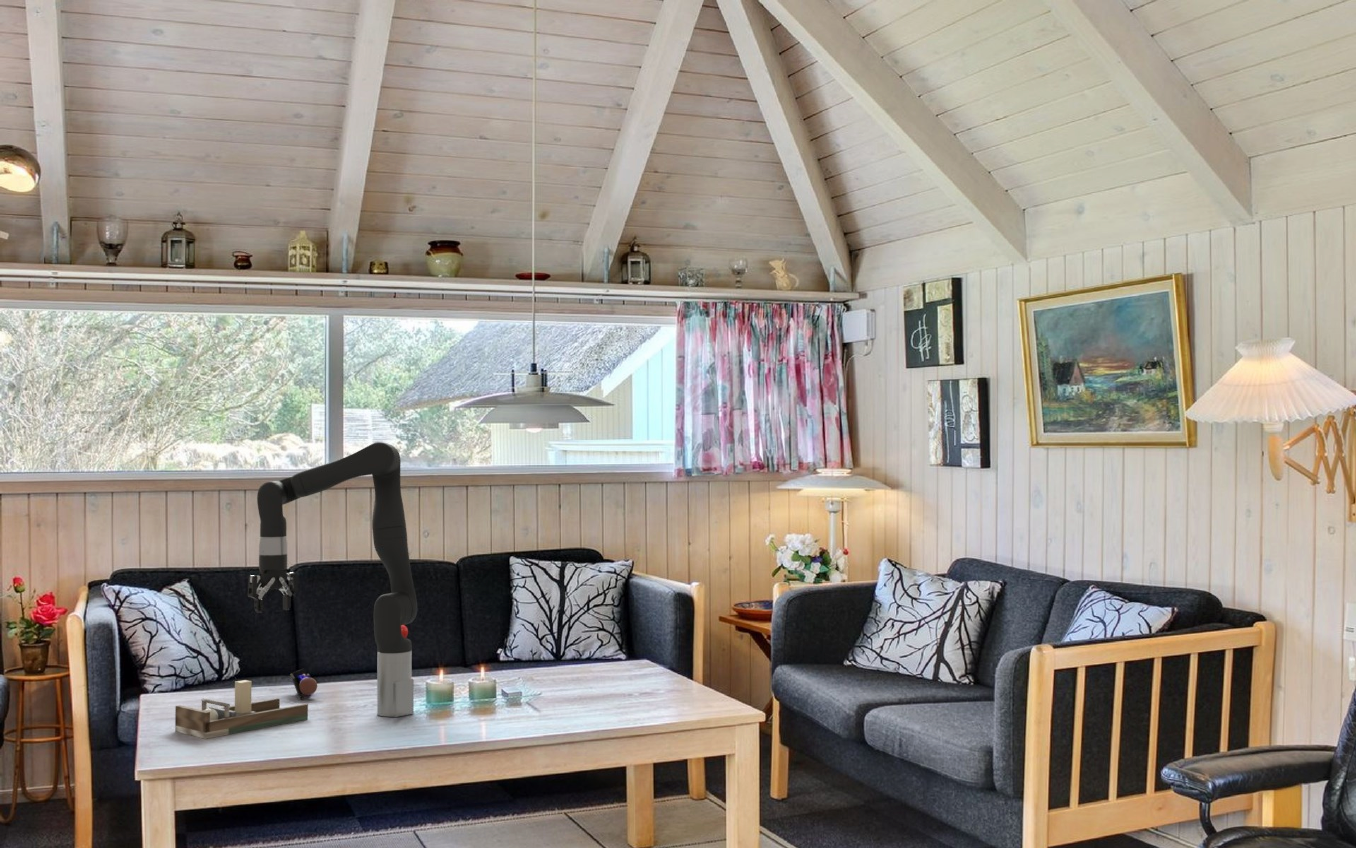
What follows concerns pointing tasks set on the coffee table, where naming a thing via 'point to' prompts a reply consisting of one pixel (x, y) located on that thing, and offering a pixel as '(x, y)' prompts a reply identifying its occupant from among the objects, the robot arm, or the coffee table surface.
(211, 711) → the ball
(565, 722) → the coffee table surface
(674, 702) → the coffee table surface
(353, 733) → the coffee table surface
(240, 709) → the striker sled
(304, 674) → the character figurine
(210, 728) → the channel
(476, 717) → the coffee table surface
